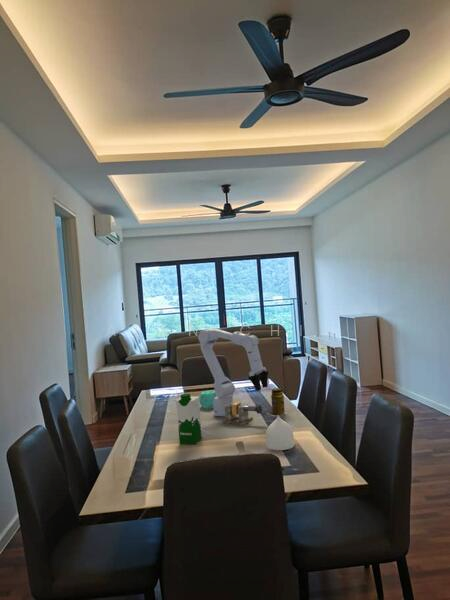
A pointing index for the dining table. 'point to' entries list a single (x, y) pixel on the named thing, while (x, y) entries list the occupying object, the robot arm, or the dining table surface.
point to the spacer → (235, 408)
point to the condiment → (277, 402)
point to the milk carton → (188, 419)
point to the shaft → (251, 408)
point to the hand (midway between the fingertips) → (262, 388)
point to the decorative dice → (207, 399)
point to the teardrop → (279, 435)
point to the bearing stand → (241, 416)
